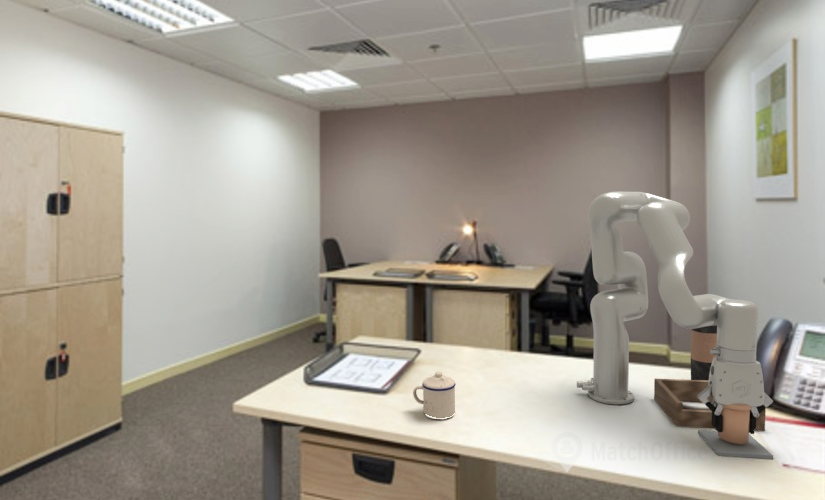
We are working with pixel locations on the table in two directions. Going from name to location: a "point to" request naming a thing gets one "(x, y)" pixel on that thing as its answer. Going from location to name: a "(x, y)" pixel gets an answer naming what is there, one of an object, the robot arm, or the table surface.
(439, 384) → the teacup with lid
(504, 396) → the table surface
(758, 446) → the slate mat
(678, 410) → the brown wooden square frame
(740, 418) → the terracotta pot
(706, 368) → the travel mug
